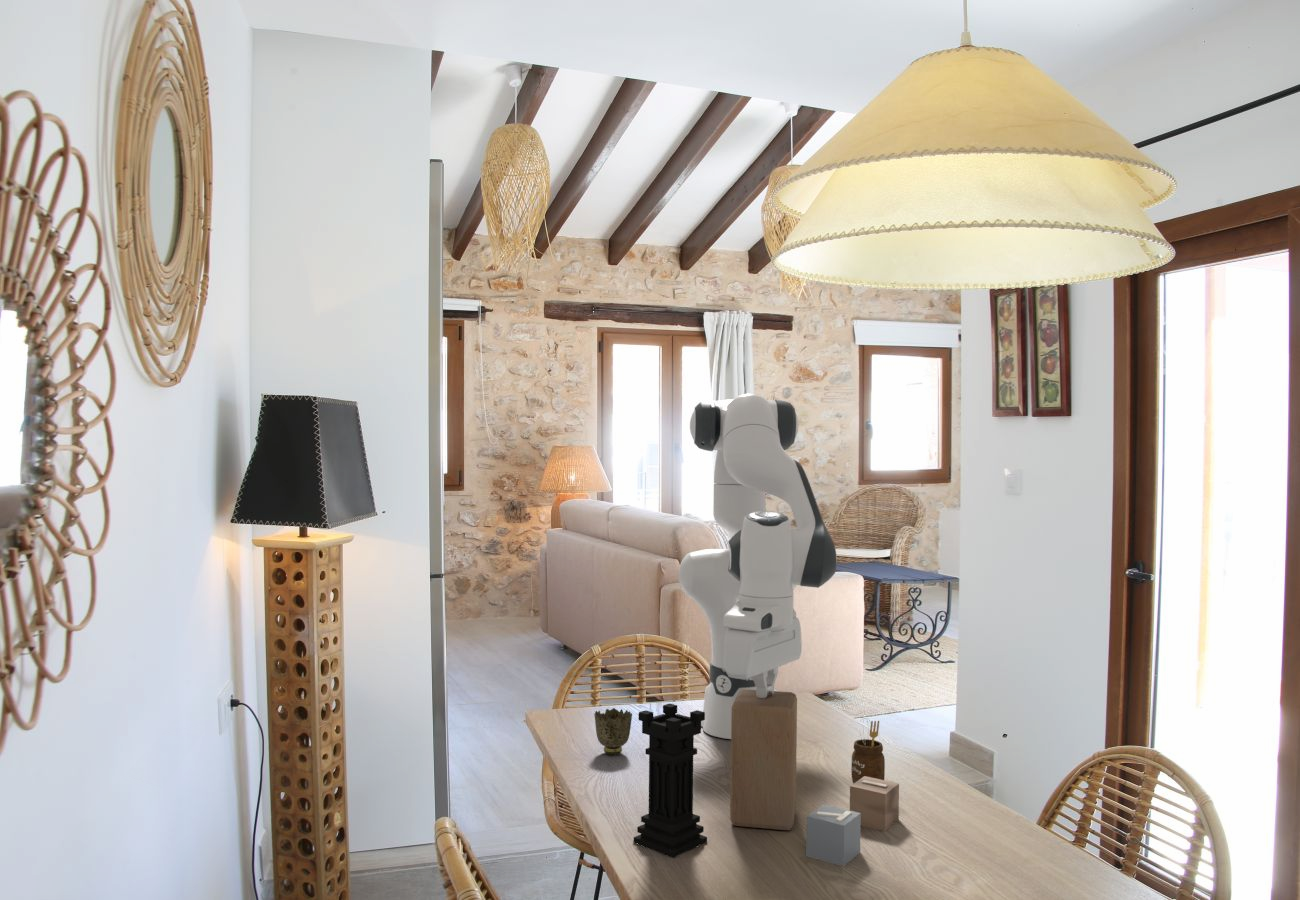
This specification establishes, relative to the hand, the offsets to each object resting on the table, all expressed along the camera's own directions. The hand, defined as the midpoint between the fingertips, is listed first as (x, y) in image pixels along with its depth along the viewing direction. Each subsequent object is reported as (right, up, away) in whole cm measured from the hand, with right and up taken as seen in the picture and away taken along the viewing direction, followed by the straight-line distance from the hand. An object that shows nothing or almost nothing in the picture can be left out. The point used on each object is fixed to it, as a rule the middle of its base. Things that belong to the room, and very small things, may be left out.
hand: (764, 696), depth 159 cm
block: (0, -20, 0) cm, 20 cm away
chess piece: (-16, -20, -10) cm, 27 cm away
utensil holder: (+21, -20, +18) cm, 34 cm away
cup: (-26, -20, +33) cm, 46 cm away
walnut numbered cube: (+18, -20, 0) cm, 27 cm away
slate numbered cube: (+9, -20, -13) cm, 26 cm away
